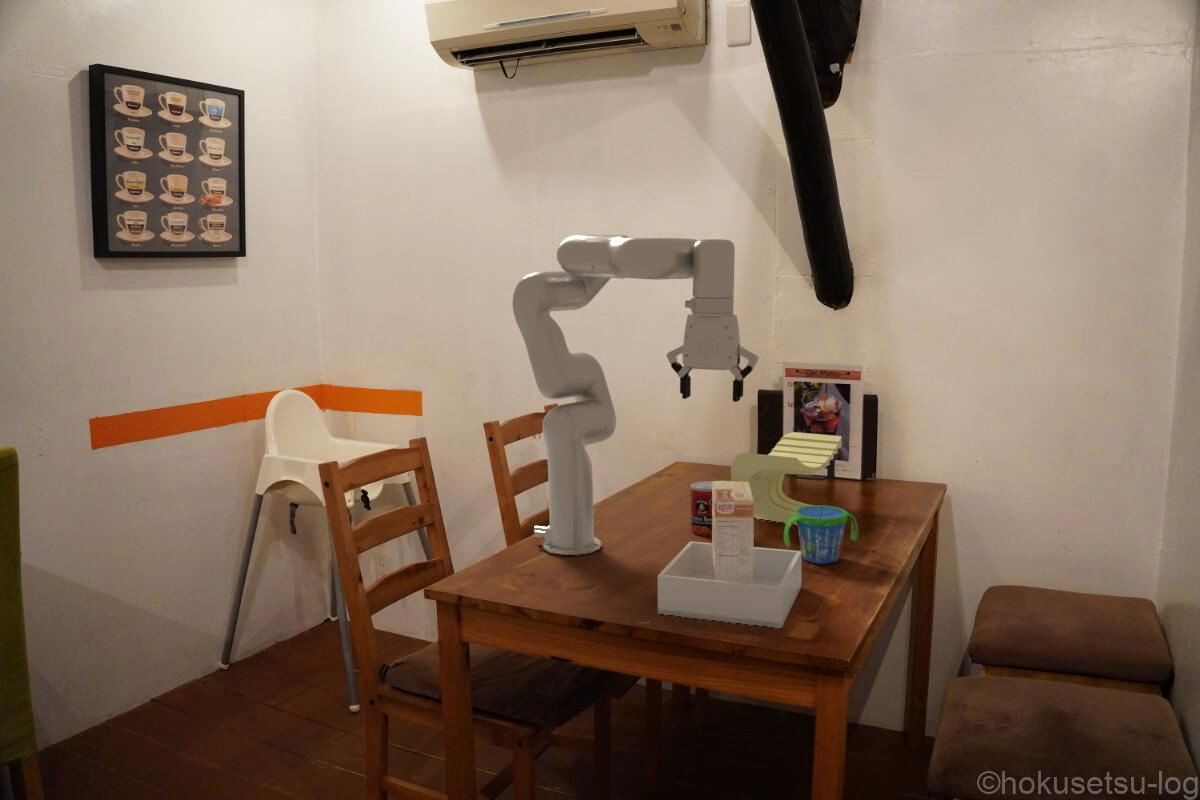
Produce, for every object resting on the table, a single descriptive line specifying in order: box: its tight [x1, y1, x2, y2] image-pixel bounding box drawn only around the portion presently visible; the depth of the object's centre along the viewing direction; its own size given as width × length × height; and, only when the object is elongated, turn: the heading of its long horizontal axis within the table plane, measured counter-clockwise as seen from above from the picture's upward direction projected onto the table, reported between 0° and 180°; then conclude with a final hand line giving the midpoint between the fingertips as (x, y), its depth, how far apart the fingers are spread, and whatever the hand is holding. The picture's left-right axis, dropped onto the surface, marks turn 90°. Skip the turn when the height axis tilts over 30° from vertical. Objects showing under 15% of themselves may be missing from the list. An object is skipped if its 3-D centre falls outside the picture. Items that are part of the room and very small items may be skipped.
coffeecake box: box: [711, 480, 755, 584], centre depth 170 cm, size 15×7×20 cm, turn 174°
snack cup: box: [783, 504, 859, 565], centre depth 193 cm, size 16×10×10 cm
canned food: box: [690, 480, 714, 537], centre depth 214 cm, size 8×8×11 cm
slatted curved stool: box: [730, 431, 843, 526], centre depth 226 cm, size 30×16×18 cm, turn 147°
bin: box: [657, 540, 803, 629], centre depth 170 cm, size 22×22×7 cm
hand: (711, 399), depth 175 cm, fingers open, 9 cm apart
